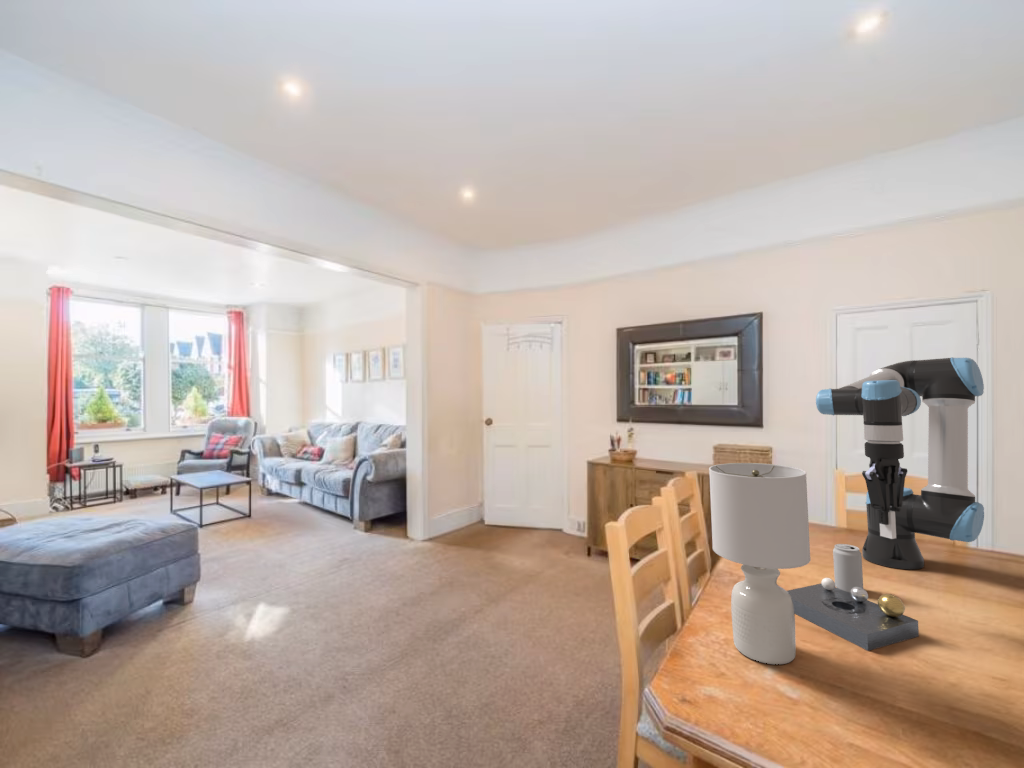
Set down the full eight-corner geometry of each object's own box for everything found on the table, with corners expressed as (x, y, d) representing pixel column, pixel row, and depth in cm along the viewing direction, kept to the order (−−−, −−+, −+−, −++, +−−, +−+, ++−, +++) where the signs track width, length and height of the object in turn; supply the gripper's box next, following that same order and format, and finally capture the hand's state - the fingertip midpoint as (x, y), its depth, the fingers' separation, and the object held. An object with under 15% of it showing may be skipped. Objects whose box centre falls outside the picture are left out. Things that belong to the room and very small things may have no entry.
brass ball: (887, 609, 107) (886, 589, 107) (910, 618, 103) (909, 597, 103) (873, 613, 106) (872, 592, 106) (895, 622, 101) (894, 601, 101)
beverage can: (868, 596, 122) (866, 551, 122) (842, 594, 123) (839, 550, 123) (855, 586, 128) (853, 543, 128) (830, 584, 129) (828, 542, 129)
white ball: (827, 586, 120) (826, 575, 120) (838, 591, 117) (837, 579, 118) (818, 588, 119) (818, 576, 119) (829, 592, 117) (829, 581, 117)
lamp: (703, 628, 108) (696, 464, 109) (783, 627, 108) (775, 461, 108) (740, 677, 89) (731, 479, 90) (837, 676, 89) (827, 476, 90)
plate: (824, 595, 123) (824, 582, 123) (918, 636, 102) (918, 620, 102) (779, 605, 118) (778, 592, 118) (868, 650, 97) (867, 634, 97)
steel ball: (857, 597, 114) (856, 583, 114) (872, 603, 110) (871, 589, 110) (847, 599, 113) (846, 585, 113) (861, 605, 109) (861, 591, 109)
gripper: (884, 439, 118) (889, 529, 118) (849, 442, 114) (853, 536, 114) (918, 441, 111) (923, 538, 111) (881, 444, 107) (886, 545, 106)
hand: (888, 536), depth 112 cm, fingers closed
